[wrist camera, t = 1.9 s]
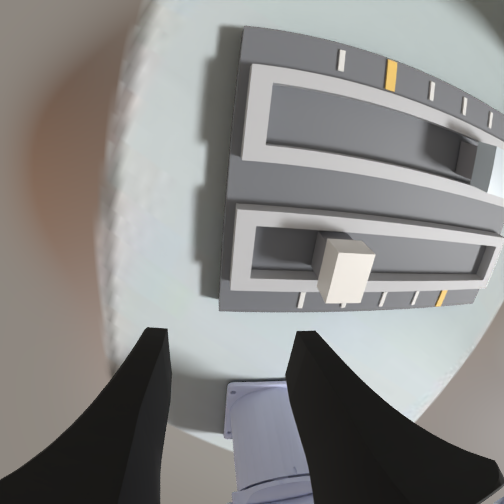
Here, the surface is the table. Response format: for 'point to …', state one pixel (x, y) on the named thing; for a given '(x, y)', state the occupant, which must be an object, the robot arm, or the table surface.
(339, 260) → the fader
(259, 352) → the table surface
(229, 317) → the table surface
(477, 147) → the fader
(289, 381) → the robot arm
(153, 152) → the table surface
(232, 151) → the console
